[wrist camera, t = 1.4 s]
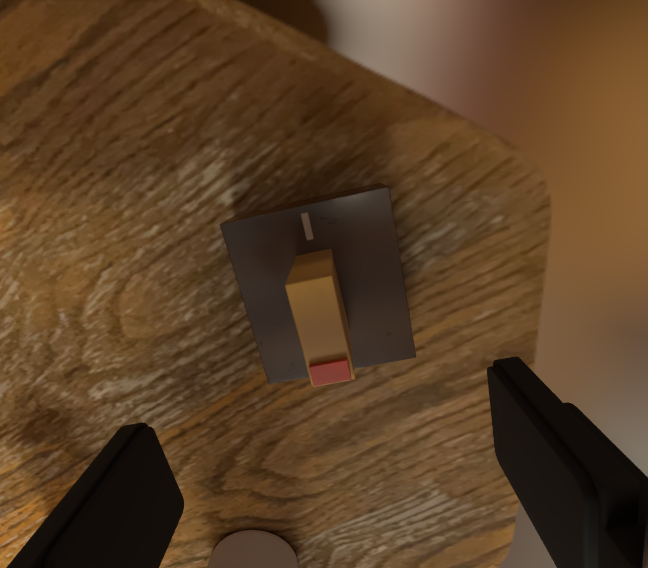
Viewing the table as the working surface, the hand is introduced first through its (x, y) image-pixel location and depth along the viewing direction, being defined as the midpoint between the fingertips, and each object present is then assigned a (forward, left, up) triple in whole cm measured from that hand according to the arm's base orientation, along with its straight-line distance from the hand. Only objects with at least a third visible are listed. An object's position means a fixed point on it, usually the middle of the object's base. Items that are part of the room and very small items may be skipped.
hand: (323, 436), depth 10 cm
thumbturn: (0, 0, -11) cm, 11 cm away
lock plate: (0, 0, -14) cm, 14 cm away
